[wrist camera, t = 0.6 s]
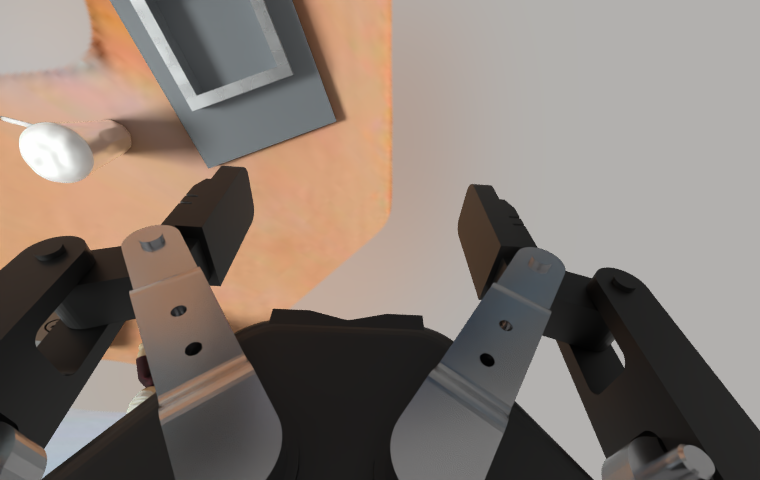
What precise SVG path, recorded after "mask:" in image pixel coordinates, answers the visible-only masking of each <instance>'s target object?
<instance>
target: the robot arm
mask: <svg viewBox="0 0 760 480" xmlns="http://www.w3.org/2000/svg"><path fill="white" fill-rule="evenodd" d="M186 195H187V196H185V197H184V198H183V199H182V200H181V201H180V202H181V203H179V204H178V205H177V206H176V207H175V209H174V210H173V211H172V212H171V213H170V214H169V216H168V217H167V218H166V219H165V220H164V222H163V223H162V224H161V225H154V226H149V227H145V228H142V229H140V230H137V231H135V232H133V233H132V234H130V235H129V236H128V237H126V239H125V240H124V241H123V243H122V246H119V247H112V248H105V249H97V250H90V249H89V247H88V246H87V244H86V243H85V241H84V240H83V239H81V238H79V237H75V236H61V237H55V238H50V239H47V240H44V241H41V242H38V243H36V244H34V245H32V246H30V247H28V248H27V249H25V250H24V251H22V252H21V253H20V254H19V255H17V256H16V257H15V258H14V259H13V260H12V261H11V262H9V263H8V264H7V265H6V266H5V267H4V268H2V269H1V270H0V480H593V479H592V478H591V477H590V476H589V475H588V474H587V473H586V472H585V471H584V470H583V469H582V468H581V467H580V466H579V465H578V464H577V463H576V462H575V461H574V460H573V459H572V458H571V457H570V456H569V455H568V454H567V453H566V452H565V451H564V450H563V449H562V448H561V447H560V446H559V445H558V444H557V443H556V442H555V441H554V440H553V439H552V438H551V437H550V436H549V435H548V434H547V433H546V432H545V431H544V430H543V429H542V428H541V427H540V426H539V425H538V424H537V423H536V422H535V421H534V420H533V419H532V418H531V417H530V416H529V415H528V414H527V413H526V412H525V411H524V410H523V409H522V408H521V407H520V406H519V405H518V404H517V403H516V402H515V399H516V396H517V394H518V392H519V389H520V387H521V384H522V382H523V380H524V377H525V375H526V372H527V370H528V368H529V365H530V363H531V360H532V358H533V356H534V353H535V351H536V349H537V346H538V344H539V341H540V339H541V336H542V335H543V336H546V337H550V338H553V339H555V340H556V341H557V343H558V346H559V348H560V350H561V353H562V355H563V358H564V360H565V362H566V365H567V367H568V369H569V372H570V374H571V376H572V379H573V381H574V383H575V386H576V388H577V391H578V393H579V395H580V398H581V400H582V402H583V405H584V407H585V410H586V412H587V414H588V417H589V419H590V421H591V424H592V426H593V428H594V431H595V433H596V436H597V438H598V440H599V443H600V445H601V447H602V450H603V452H604V455H605V457H606V460H605V461H604V464H603V466H602V480H760V431H759V429H758V428H757V427H756V425H755V424H754V423H753V422H752V420H751V419H750V418H749V417H748V415H747V414H746V413H745V411H744V410H743V409H742V408H741V407H740V405H739V404H738V403H737V401H736V400H735V399H734V397H733V396H732V395H731V394H730V392H729V391H728V390H727V389H726V387H725V386H724V385H723V383H722V382H721V381H720V380H719V379H718V377H717V376H716V375H715V374H714V372H713V371H712V369H711V368H710V367H709V366H708V364H707V363H706V362H705V360H704V359H703V358H702V357H701V355H700V354H699V353H698V352H697V350H696V349H695V348H694V347H693V345H692V344H691V343H690V341H689V340H688V339H687V338H686V336H685V335H684V334H683V332H682V331H681V330H680V329H679V327H678V326H677V325H676V324H675V323H674V321H673V320H672V318H671V317H670V316H669V315H668V313H667V312H666V311H665V309H664V308H663V307H662V306H661V304H660V303H659V302H658V301H657V299H656V298H655V297H654V296H653V294H652V293H651V292H650V290H649V289H648V288H647V287H646V285H644V283H642V282H641V281H640V280H639V279H637V278H636V277H634V276H633V275H631V274H629V273H627V272H624V271H622V270H619V269H615V268H601V269H599V270H598V271H597V272H596V273H595V275H594V276H593V278H588V277H585V276H581V275H577V274H574V273H570V272H567V271H565V266H564V264H563V263H562V261H561V260H560V259H559V258H558V257H556V256H555V255H554V254H552V253H550V252H548V251H545V250H543V249H540V248H537V246H536V244H535V242H534V241H533V239H532V238H531V236H530V234H529V232H528V231H527V229H526V227H525V226H524V224H523V222H522V220H521V219H519V215H518V214H517V212H516V210H515V208H514V207H512V206H511V205H510V204H508V202H506V201H505V200H501V199H499V198H498V196H497V194H496V192H495V190H494V188H493V187H492V186H490V185H477V184H471V185H470V186H469V187H468V190H467V193H466V196H465V200H464V203H463V207H462V210H461V213H460V217H459V221H458V235H459V238H460V242H461V245H462V248H463V251H464V254H465V257H466V260H467V263H468V267H469V270H470V273H471V276H472V279H473V283H474V286H475V289H476V292H477V296H478V299H479V300H481V302H480V303H479V305H478V306H477V308H476V309H475V311H474V312H473V314H472V315H471V317H470V318H469V320H468V321H467V323H466V324H465V326H464V327H463V329H462V330H461V332H460V333H459V335H458V336H457V338H456V339H455V340H454V341H452V340H451V339H449V338H448V337H446V336H445V335H443V334H441V333H438V332H436V331H434V330H431V329H428V328H425V327H424V325H423V318H422V316H419V315H396V314H384V315H378V316H372V317H366V318H360V319H354V320H344V319H340V318H337V317H333V316H329V315H325V314H322V313H317V312H314V311H310V310H288V309H273V311H272V314H271V317H270V320H269V321H264V322H261V323H257V324H254V325H251V326H248V327H246V328H244V329H242V330H240V331H238V332H236V333H233V331H232V329H231V327H230V325H229V323H228V321H227V319H226V317H225V315H224V313H223V311H222V309H221V307H220V305H219V303H218V301H217V299H216V297H215V295H214V293H213V292H212V290H211V288H210V286H221V284H222V282H223V280H224V278H225V276H226V274H227V272H228V270H229V268H230V266H231V264H232V262H233V260H234V258H235V256H236V254H237V252H238V250H239V248H240V245H241V243H242V241H243V239H244V237H245V235H246V233H247V231H248V229H249V227H250V225H251V223H252V221H253V216H254V204H253V199H252V193H251V188H250V182H249V177H248V172H247V170H246V168H244V167H232V166H221V167H220V168H219V170H218V171H217V172H216V173H215V175H214V176H213V177H212V178H211V179H205V180H203V181H201V182H200V183H198V184H196V185H194V186H193V187H192V188H191V190H190V191H189V192H188V193H187V194H186ZM209 285H210V286H209ZM53 312H55V313H56V314H57V315H58V316H59V318H60V319H59V321H58V322H57V323H56V324H55V325H54V327H53V328H52V329H51V330H50V331H49V333H48V334H47V335H46V336H45V338H44V339H43V340H42V341H41V342H40V344H39V345H38V346H37V347H36V344H35V339H36V335H37V332H38V330H39V329H40V327H41V326H42V325H43V324H44V323H45V321H46V320H47V319H48V318H49V317H50V316H51V314H52V313H53ZM131 319H136V320H137V324H138V328H139V331H140V335H141V339H142V342H143V346H144V350H145V353H146V357H147V361H148V364H149V368H150V372H151V375H152V379H153V383H154V386H155V390H156V392H155V393H154V394H153V395H151V396H150V397H149V398H147V399H146V400H145V401H143V402H142V403H141V404H139V405H138V406H137V407H136V408H134V409H133V410H132V411H130V412H129V413H128V414H126V415H125V416H124V417H122V418H121V419H120V420H118V421H117V422H116V423H115V424H113V425H112V426H111V427H109V428H108V429H107V430H105V431H104V432H103V433H101V434H100V435H99V436H97V437H96V438H95V439H93V440H92V441H91V442H90V443H88V444H87V445H86V446H84V447H83V448H82V449H80V450H79V451H78V452H76V453H75V454H74V455H72V456H71V457H70V458H68V459H67V460H66V461H65V462H63V463H62V464H61V465H59V466H58V467H57V468H55V469H54V470H53V471H51V472H50V473H49V474H48V475H46V476H45V477H44V478H43V479H41V478H42V476H43V474H44V472H45V468H46V464H47V455H46V452H45V450H44V448H45V447H46V445H47V444H48V442H49V440H50V439H51V437H52V436H53V434H54V433H55V431H56V429H57V428H58V426H59V425H60V423H61V422H62V420H63V418H64V417H65V415H66V414H67V412H68V411H69V409H70V407H71V406H72V404H73V403H74V401H75V399H76V398H77V396H78V395H79V393H80V392H81V390H82V388H83V387H84V385H85V384H86V382H87V381H88V379H89V377H90V376H91V374H92V373H93V371H94V369H95V368H96V366H97V365H98V363H99V362H100V360H101V359H102V357H103V355H104V354H105V352H106V351H107V349H108V347H109V346H110V344H111V343H112V341H113V340H114V338H115V336H116V335H117V333H118V332H119V330H120V329H121V327H122V325H123V324H124V322H125V321H126V320H131ZM614 340H616V342H617V344H618V345H619V347H620V349H621V350H622V352H623V354H624V358H625V368H624V367H623V365H622V363H621V361H620V360H619V358H618V356H617V354H616V353H615V351H614V349H613V347H612V346H611V343H612V342H613V341H614Z"/></svg>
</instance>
